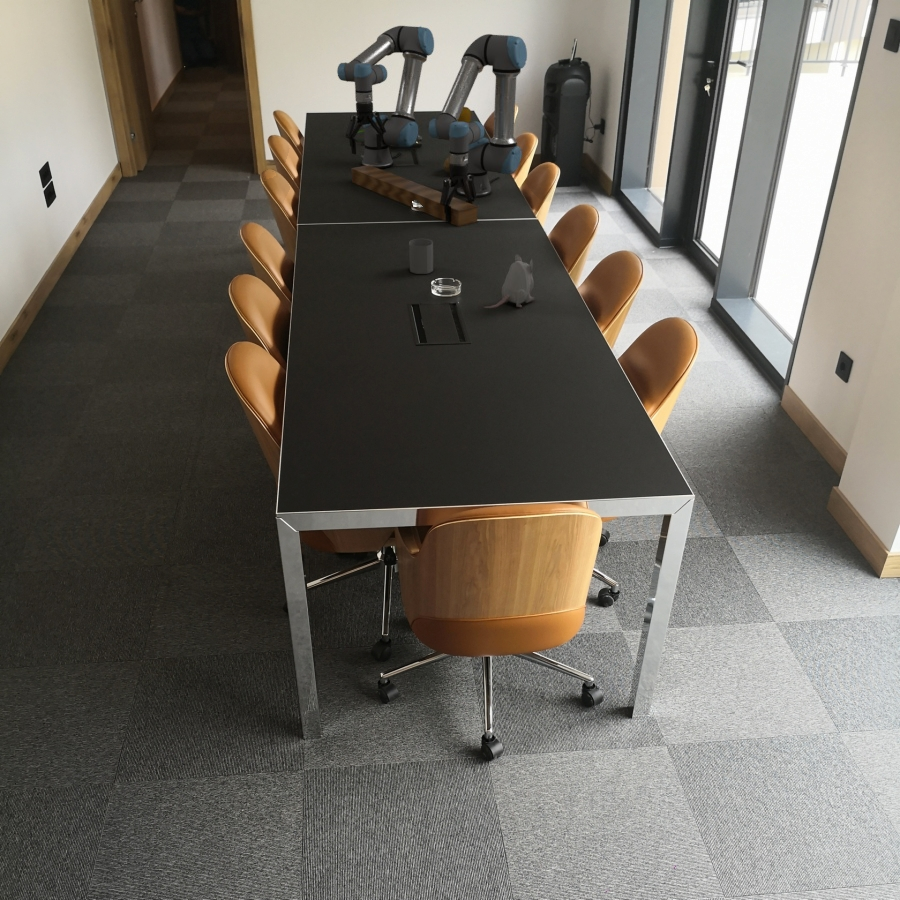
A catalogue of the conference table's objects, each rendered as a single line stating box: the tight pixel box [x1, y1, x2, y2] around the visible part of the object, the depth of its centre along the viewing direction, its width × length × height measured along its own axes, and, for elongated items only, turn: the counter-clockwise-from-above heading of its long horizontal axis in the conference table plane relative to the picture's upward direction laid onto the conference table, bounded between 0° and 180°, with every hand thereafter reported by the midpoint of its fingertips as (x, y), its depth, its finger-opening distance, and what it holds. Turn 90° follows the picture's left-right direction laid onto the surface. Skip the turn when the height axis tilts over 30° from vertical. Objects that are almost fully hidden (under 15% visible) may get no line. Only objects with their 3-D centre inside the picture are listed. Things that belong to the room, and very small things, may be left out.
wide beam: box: [350, 165, 478, 227], centre depth 376 cm, size 80×10×6 cm, turn 38°
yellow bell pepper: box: [458, 106, 472, 123], centre depth 487 cm, size 11×11×13 cm
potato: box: [443, 156, 451, 174], centre depth 412 cm, size 10×14×8 cm
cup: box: [408, 237, 434, 275], centre depth 305 cm, size 8×8×10 cm
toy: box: [483, 253, 535, 309], centre depth 276 cm, size 9×24×15 cm, turn 137°
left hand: (366, 151), depth 393 cm, fingers open, 13 cm apart
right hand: (458, 219), depth 355 cm, fingers closed on wide beam, 10 cm apart
